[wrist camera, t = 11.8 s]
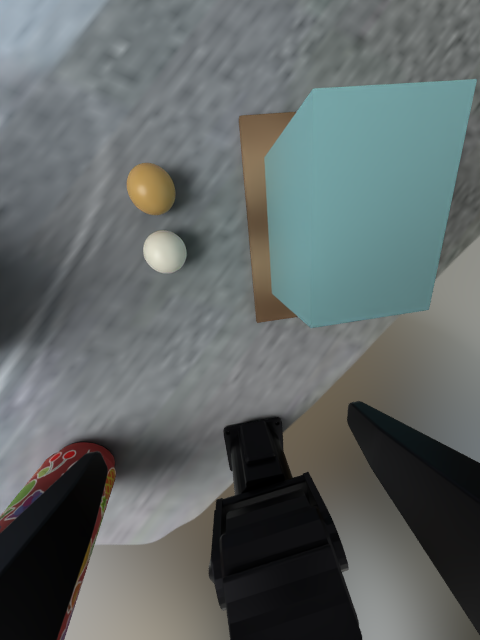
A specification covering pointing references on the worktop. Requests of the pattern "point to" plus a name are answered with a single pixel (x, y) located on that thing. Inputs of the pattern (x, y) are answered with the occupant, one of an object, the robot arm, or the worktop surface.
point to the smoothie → (42, 481)
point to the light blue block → (364, 198)
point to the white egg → (165, 251)
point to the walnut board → (261, 206)
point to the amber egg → (151, 189)
